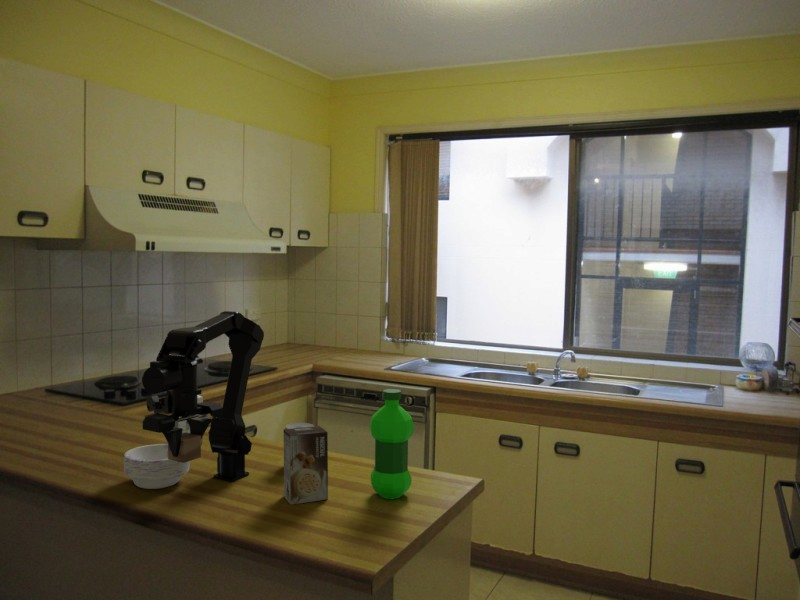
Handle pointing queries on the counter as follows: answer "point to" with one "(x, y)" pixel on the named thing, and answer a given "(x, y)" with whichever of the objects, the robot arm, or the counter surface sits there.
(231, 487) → the counter surface
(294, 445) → the coffee box
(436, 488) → the counter surface
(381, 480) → the plastic bottle
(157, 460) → the paper bowls
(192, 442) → the walnut block
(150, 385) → the robot arm
